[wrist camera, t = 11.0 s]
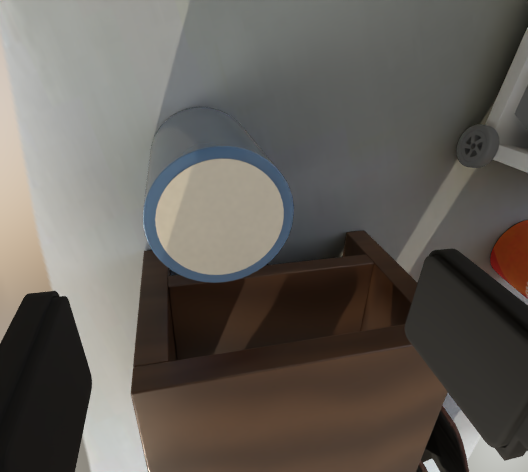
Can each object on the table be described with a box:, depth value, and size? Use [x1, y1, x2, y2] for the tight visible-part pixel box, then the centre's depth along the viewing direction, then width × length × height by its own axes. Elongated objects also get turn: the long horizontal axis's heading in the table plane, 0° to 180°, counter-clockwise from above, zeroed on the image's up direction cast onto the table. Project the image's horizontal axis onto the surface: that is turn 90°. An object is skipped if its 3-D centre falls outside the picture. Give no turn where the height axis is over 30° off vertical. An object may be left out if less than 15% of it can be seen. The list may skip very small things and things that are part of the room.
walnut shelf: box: [131, 231, 447, 472], centre depth 26 cm, size 13×17×12 cm
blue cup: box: [143, 107, 294, 283], centre depth 20 cm, size 7×7×9 cm
